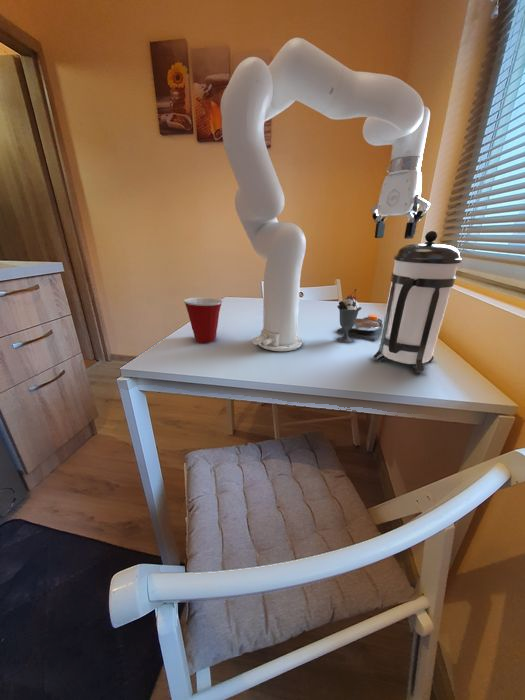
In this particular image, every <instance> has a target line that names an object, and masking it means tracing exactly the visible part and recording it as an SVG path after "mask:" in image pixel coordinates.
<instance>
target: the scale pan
mask: <svg viewBox="0 0 525 700" xmlns="http://www.w3.org/2000/svg"><path fill="white" fill-rule="evenodd" d="M379 327H380V324H379V323H377V322H375V321H372V320H368V319H363V318H356V321H355V324H354V326H353V327H352V328H354V329H358V330H367V331H371V330H377V329H379Z"/></svg>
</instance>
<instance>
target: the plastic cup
mask: <svg viewBox="0 0 525 700" xmlns="http://www.w3.org/2000/svg"><path fill="white" fill-rule="evenodd" d="M223 302H224V301H223V299H219V298H214V297H189V298H184V299H183V303H184V305H185V308H186V311H187V314H188V319H189V322H190V325H191V330H192V332H193V333H192V334H193V336H194V339H195V341H196V342H197V343H200V344H209V343H213V342H214V341H216V339H217V333H218V332H217V331H218V325H219V316H220V312H221V307H222V304H223Z"/></svg>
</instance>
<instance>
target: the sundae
mask: <svg viewBox="0 0 525 700" xmlns="http://www.w3.org/2000/svg"><path fill="white" fill-rule="evenodd" d="M357 291H358V289H357V288H354V292H353V293H354V296H353V293H351V294H349V295H348V296H346V297H345V298H343V300H340V301H339V302H338V305H337V306H336V307H337V309H338V310H339V326H340V328H343V329H344V334H342V336H338V337H337V338H336V339H335V340H336V341H337V342H339V343H340V344H341V343H342V344H353V343H354V339H353V338H351V337H349V335H348V330H349V329H351V328H352V327H353V326H354V324H355V321H356V319H358V314H359V312H360V311H361V310H362V307H361V306H360V304H359V302H358V301H357V300H358V298H357V296H356V292H357Z"/></svg>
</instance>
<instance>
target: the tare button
mask: <svg viewBox="0 0 525 700" xmlns="http://www.w3.org/2000/svg"><path fill="white" fill-rule="evenodd" d="M367 317H368V320H372V321H377V320H378V319H379V315H378V314H368V315H367Z"/></svg>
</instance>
